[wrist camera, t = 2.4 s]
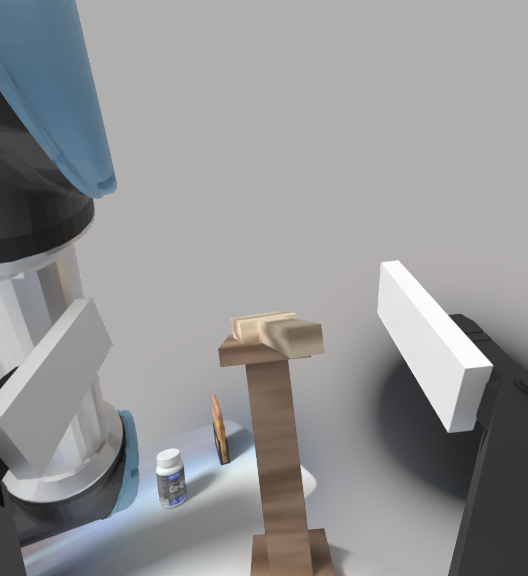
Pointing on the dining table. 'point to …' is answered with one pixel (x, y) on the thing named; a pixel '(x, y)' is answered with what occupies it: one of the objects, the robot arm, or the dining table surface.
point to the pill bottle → (170, 478)
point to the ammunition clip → (219, 433)
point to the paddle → (280, 333)
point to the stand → (277, 467)
